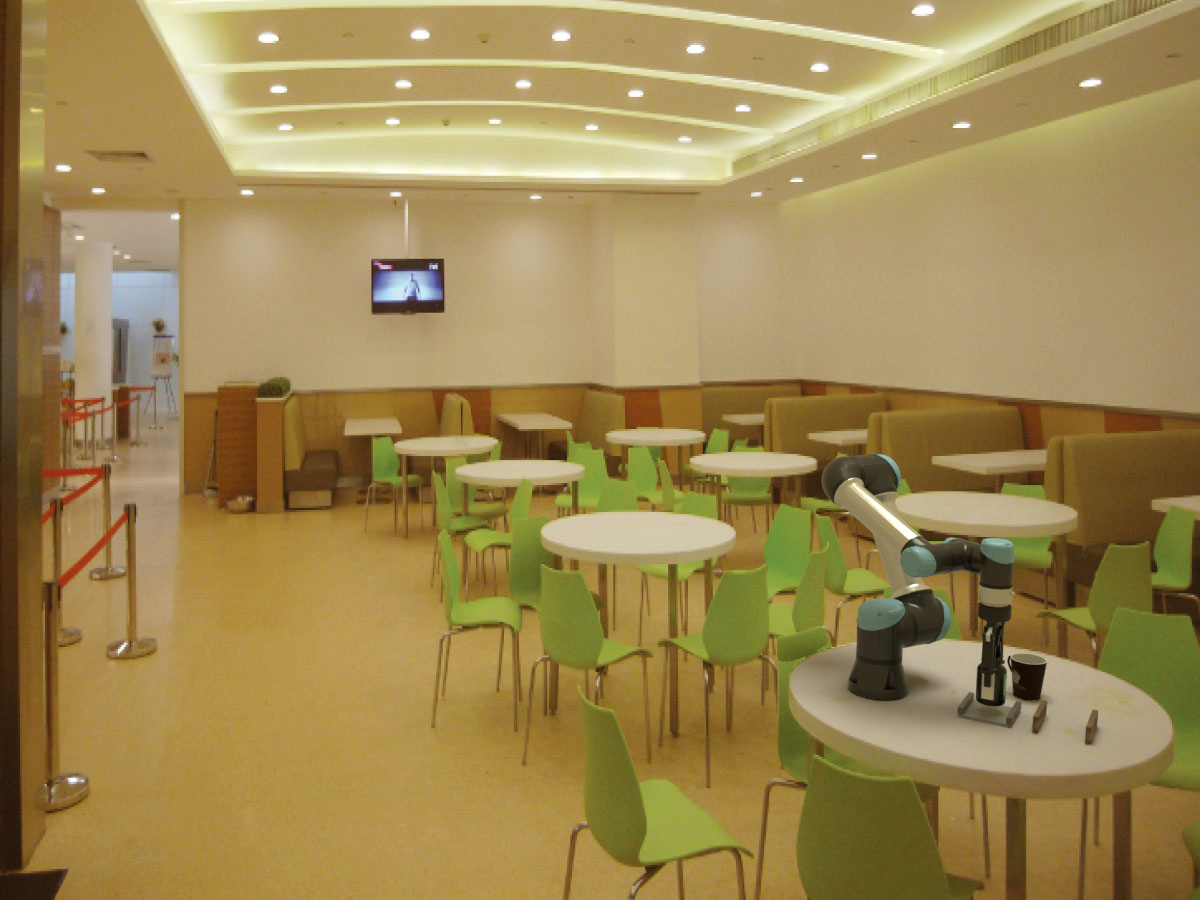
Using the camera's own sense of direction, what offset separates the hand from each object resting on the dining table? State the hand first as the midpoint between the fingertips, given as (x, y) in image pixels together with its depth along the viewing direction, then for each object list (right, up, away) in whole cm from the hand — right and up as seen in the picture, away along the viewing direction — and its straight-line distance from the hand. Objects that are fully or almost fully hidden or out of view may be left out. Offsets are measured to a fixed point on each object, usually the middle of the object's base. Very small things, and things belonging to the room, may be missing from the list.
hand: (990, 693), depth 241 cm
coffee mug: (+14, -4, +14) cm, 20 cm away
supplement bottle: (0, -2, 0) cm, 2 cm away
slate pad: (0, -5, +1) cm, 5 cm away
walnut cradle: (+14, -6, -8) cm, 18 cm away
